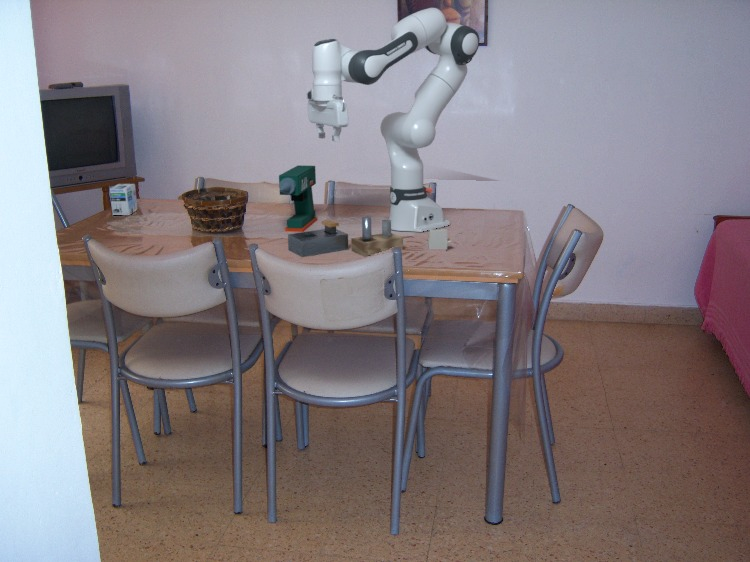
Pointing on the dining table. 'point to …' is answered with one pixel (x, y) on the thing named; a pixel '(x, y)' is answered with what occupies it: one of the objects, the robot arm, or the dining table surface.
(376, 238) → the rack
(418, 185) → the robot arm
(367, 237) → the bit
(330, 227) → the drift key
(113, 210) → the light bulb box
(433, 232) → the pale grey square block
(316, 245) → the socket block
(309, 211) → the power tool
